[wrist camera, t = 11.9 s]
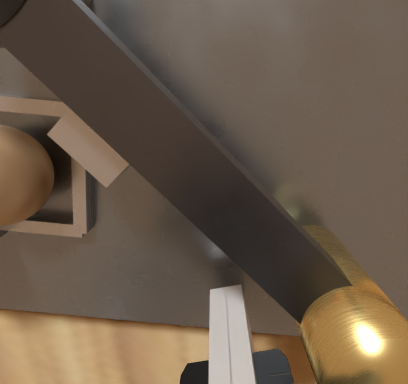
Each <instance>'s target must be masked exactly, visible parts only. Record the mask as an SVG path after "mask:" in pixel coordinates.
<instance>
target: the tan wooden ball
mask: <svg viewBox="0 0 408 384" xmlns="http://www.w3.org/2000/svg"><path fill="white" fill-rule="evenodd" d="M53 185H54V168H53V164H52V161H51V159H50V157H49V155H48V153H47V151H46V150H45V149H44V147H43V146H42V145H41V144H40V143H39V142H38V141H37V140H36V139H34V138H33V137H32V136H30V135H29V134H27V133H25V132H23V131H21V130H19V129H16V128H13V127H9V126H4V125H0V226H5V225H11V224H15V223H18V222H21V221H23V220H25V219H27V218H29V217H31V216H32V215H34V214H35V213H36V212H37V211H39V210H40V209H41V208H42V207H43V206H44V204H45V203H46V201H47V200H48V199H49V196H50V194H51V192H52V189H53Z"/></svg>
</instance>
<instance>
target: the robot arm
mask: <svg viewBox="0 0 408 384" xmlns="http://www.w3.org/2000/svg"><path fill="white" fill-rule="evenodd" d="M180 384H294V381H293V377H292V374H291V370H290V367H289V363H288V359H287V358H286V357H285V355H284V354H283V353H282V352H281V351H280V350H279V349H273V350H267V351H260V352H254V346H253V339H252V333H251V328H250V323H249V319H248V314H247V309H246V305H245V300H244V295H243V290H242V286H241V284H240V285H234V286H228V287H222V288H217V289H211V290H210V320H209V360H207V361H201V362H194V363H188V364H187V365H186V367H185V369H184V371H183V373H182V374H181V378H180Z"/></svg>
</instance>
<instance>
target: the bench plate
mask: <svg viewBox="0 0 408 384" xmlns="http://www.w3.org/2000/svg"><path fill="white" fill-rule="evenodd" d="M82 1H83V2H84V3H85V4H86V6H87V7H88V8H89V9H90V10H91V11H92V12H93V13H94V14H95V15H96V16H97V17H98V18H99V19H100V20H101V21H102V22H103V23H104V24H105V25H106V26H107V27H108V28H109V29H110V30H111V31H112V32H113V33H114V34H115V35H116V36H117V37H118V38H119V39H120V40H121V41H122V42H123V43H124V44H125V46H126V47H127V48H128V49H129V50H130V51H131V52H132V53H133V54H134V55H135V56H136V57H137V58H138V59H139V60H140V61H141V62H142V63H143V64H144V65H145V66H146V67H147V68H148V69H149V70H150V71H151V72H152V73H153V74H154V75H155V76H156V77H157V78H158V79H159V80H160V81H161V82H162V83H163V84H164V86H165V87H166V88H167V89H168V90H169V91H170V92H171V93H172V94H173V95H174V96H175V97H176V98H177V99H178V100H179V101H180V102H181V103H182V104H183V105H184V106H185V107H186V108H187V109H188V110H189V111H190V112H191V113H192V114H193V115H194V116H195V117H196V118H197V119H198V120H199V121H200V122H201V123H202V124H203V126H204V127H205V128H206V129H207V130H208V131H209V132H210V133H211V134H212V135H213V136H214V137H215V138H216V139H217V140H218V141H219V142H220V143H221V144H222V145H223V146H224V147H225V148H226V149H227V150H228V151H229V152H230V153H231V154H232V155H233V156H234V157H235V158H236V159H237V160H238V161H239V162H240V163H241V164H242V166H243V167H244V168H245V169H246V170H247V171H248V172H249V173H250V174H251V175H252V176H253V177H254V178H255V179H256V180H257V181H258V182H259V183H260V184H261V185H262V186H263V187H264V188H265V189H266V190H267V191H268V192H269V193H270V194H271V195H272V196H273V197H274V198H275V199H276V200H277V201H278V202H279V203H280V204H281V206H282V207H283V208H284V209H285V210H286V211H287V212H288V213H289V214H290V215H291V216H292V217H293V218H294V219H295V220H296V221H297V222H298V223H299V224H300V225H301V226H306V225H316V226H321V227H324V228H326V229H328V230H330V231H331V232H333V233H334V234H335V235H336V237H337V238H338V239H339V240H340V241H341V242H342V244H343V245H344V246H345V247H346V248H347V250H348V251H349V252H350V253H351V254H352V255H353V257H354V258H355V259H356V260H357V261H358V263H359V264H360V265H361V266H362V267H363V269H364V270H365V271H366V272H367V273H368V274H369V276H370V277H371V278H372V279H373V280H374V282H375V283H376V284H377V285H378V286H379V288H380V289H381V290H382V291H383V292H384V293H385V295H386V296H387V297H388V298H389V299H390V301H391V302H392V303H393V304H394V305H395V306H396V308H397V309H398V310H399V311H400V312H401V314H402V315H403V316H404V317H405V318H406V320H407V321H408V0H82ZM68 109H69V107H68V106H67V105H66V104H64V103H63V102H62V101H61V100H60V99H59V98H58V97H57V96H56V95H55V94H54V93H53V92H52V91H51V90H49V89H48V88H47V87H46V86H45V85H44V84H43V83H42V82H41V81H40V80H39V79H38V78H37V77H36V76H35V75H33V74H32V73H31V72H30V71H29V70H28V69H27V68H26V67H25V66H24V65H23V64H22V63H21V62H20V61H18V60H17V59H16V58H15V57H14V56H13V55H12V54H11V53H10V52H9V51H8V50H7V49H6V48H0V125H4V126H9V127H13V128H16V129H19V130H21V131H23V132H25V133H27V134H29V135H30V136H32V137H33V138H34V139H36V140H37V141H38V142H39V143H40V144H41V145H42V146H43V147H44V149H45V150H46V151H47V153H48V155H49V157H50V159H51V161H52V164H53V168H54V185H53V189H52V192H51V194H50V196H49V199H48V200H47V201H46V203H45V204H44V206H43V207H42V208H41V209H40V210H39V211H37V212H36V213H35V214H34V215H32V216H31V217H29V218H27V219H25V220H23V221H21V222H18V223H15V224H11V225H5V226H0V309H11V310H22V311H33V312H43V313H54V314H65V315H75V316H86V317H97V318H107V319H118V320H129V321H139V322H150V323H161V324H171V325H182V326H193V327H203V328H209V320H210V290H211V289H217V288H222V287H228V286H234V285H240V284H241V286H242V290H243V295H244V300H245V305H246V309H247V314H248V319H249V323H250V328H251V332H257V333H268V334H278V335H289V336H300V334H299V331H298V328H297V325H296V322H295V320H294V318H293V317H292V316H291V315H290V314H289V313H288V312H287V311H286V310H285V309H284V308H283V307H281V306H280V305H279V304H278V303H277V302H276V301H275V300H274V299H273V298H272V297H271V296H270V295H269V294H268V293H266V292H265V291H264V290H263V289H262V288H261V287H260V286H259V285H258V284H257V283H256V282H255V281H254V280H253V279H252V278H250V277H249V276H248V275H247V274H246V273H245V272H244V271H243V270H242V269H241V268H240V267H239V266H238V265H237V264H235V263H234V262H233V261H232V260H231V259H230V258H229V257H228V256H227V255H226V254H225V253H224V252H223V251H222V250H221V249H219V248H218V247H217V246H216V245H215V244H214V243H213V242H212V241H211V240H210V239H209V238H208V237H207V236H206V235H204V234H203V233H202V232H201V231H200V230H199V229H198V228H197V227H196V226H195V225H194V224H193V223H192V222H191V221H190V220H188V219H187V218H186V217H185V216H184V215H183V214H182V213H181V212H180V211H179V210H178V209H177V208H176V207H175V206H173V205H172V204H171V203H170V202H169V201H168V200H167V199H166V198H165V197H164V196H163V195H162V194H161V193H160V192H159V191H157V190H156V189H155V188H154V187H153V186H152V185H151V184H150V183H149V182H148V181H147V180H146V179H145V178H144V177H142V176H141V175H140V174H139V173H138V172H137V171H136V170H135V169H134V168H133V167H132V166H130V167H129V168H128V169H127V170H126V171H125V172H124V173H122V174H121V175H120V176H119V177H118V178H117V179H116V180H115V181H114V182H112V183H111V184H110V185H109V186H108V187H107V188H106V187H105V186H104V185H102V184H101V183H100V182H99V181H98V180H97V179H96V178H95V177H94V176H92V175H91V174H90V173H89V172H88V171H87V170H86V169H85V168H84V167H82V166H81V165H80V164H79V163H78V162H77V161H76V160H75V159H74V158H72V157H71V156H70V155H69V154H68V153H67V152H66V151H65V150H64V149H62V148H61V147H60V146H59V145H58V144H57V143H56V142H55V141H54V140H52V139H51V138H50V137H49V136H48V135H47V134H48V133H49V131H50V130H51V129H52V128H53V127H54V126H55V124H56V123H57V122H58V121H59V120H60V118H61V117H62V116H63V115H64V114H65V113H66V111H67V110H68ZM300 337H301V336H300Z"/></svg>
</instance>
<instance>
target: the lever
mask: <svg viewBox="0 0 408 384" xmlns="http://www.w3.org/2000/svg"><path fill="white" fill-rule="evenodd" d="M0 48H6V49H7V50H8V51H9V52H10V53H11V54H12V55H13V56H14V57H15V58H16V59H17V60H18V61H20V62H21V63H22V64H23V65H24V66H25V67H26V68H27V69H28V70H29V71H30V72H31V73H32V74H33V75H35V76H36V77H37V78H38V79H39V80H40V81H41V82H42V83H43V84H44V85H45V86H46V87H47V88H48V89H49V90H51V91H52V92H53V93H54V94H55V95H56V96H57V97H58V98H59V99H60V100H61V101H62V102H63V103H64V104H66V105H67V106H68V107H69V109H68V110H67V111H66V113H65V114H64V115H63V116H62V117H61V118H60V120H59V121H58V122H57V123H56V124H55V126H54V127H53V128H52V129H51V130H50V131H49V133H48V134H47V135H48V136H49V137H50V138H51V139H52V140H54V141H55V142H56V143H57V144H58V145H59V146H60V147H61V148H62V149H64V150H65V151H66V152H67V153H68V154H69V155H70V156H71V157H72V158H74V159H75V160H76V161H77V162H78V163H79V164H80V165H81V166H82V167H84V168H85V169H86V170H87V171H88V172H89V173H90V174H91V175H92V176H94V177H95V178H96V179H97V180H98V181H99V182H100V183H101V184H102V185H104V186H105V187H106V188H107V187H108V186H109V185H110V184H111V183H112V182H114V181H115V180H116V179H117V178H118V177H119V176H120V175H121V174H122V173H124V172H125V171H126V170H127V169H128V168H129V167H130V166H132V167H133V168H134V169H135V170H136V171H137V172H138V173H139V174H140V175H141V176H142V177H144V178H145V179H146V180H147V181H148V182H149V183H150V184H151V185H152V186H153V187H154V188H155V189H156V190H157V191H159V192H160V193H161V194H162V195H163V196H164V197H165V198H166V199H167V200H168V201H169V202H170V203H171V204H172V205H173V206H175V207H176V208H177V209H178V210H179V211H180V212H181V213H182V214H183V215H184V216H185V217H186V218H187V219H188V220H190V221H191V222H192V223H193V224H194V225H195V226H196V227H197V228H198V229H199V230H200V231H201V232H202V233H203V234H204V235H206V236H207V237H208V238H209V239H210V240H211V241H212V242H213V243H214V244H215V245H216V246H217V247H218V248H219V249H221V250H222V251H223V252H224V253H225V254H226V255H227V256H228V257H229V258H230V259H231V260H232V261H233V262H234V263H235V264H237V265H238V266H239V267H240V268H241V269H242V270H243V271H244V272H245V273H246V274H247V275H248V276H249V277H250V278H252V279H253V280H254V281H255V282H256V283H257V284H258V285H259V286H260V287H261V288H262V289H263V290H264V291H265V292H266V293H268V294H269V295H270V296H271V297H272V298H273V299H274V300H275V301H276V302H277V303H278V304H279V305H280V306H281V307H283V308H284V309H285V310H286V311H287V312H288V313H289V314H290V315H291V316H292V317H293V318H294V320H295V322H296V325H297V328H298V331H299V334H300V336H301V339H302V342H303V345H304V348H305V351H306V353H307V356H308V359H309V362H310V365H311V368H312V370H313V373H314V376H315V379H316V382H317V384H408V321H407V320H406V318H405V317H404V316H403V315H402V314H401V312H400V311H399V310H398V309H397V308H396V306H395V305H394V304H393V303H392V302H391V301H390V299H389V298H388V297H387V296H386V295H385V293H384V292H383V291H382V290H381V289H380V288H379V286H378V285H377V284H376V283H375V282H374V280H373V279H372V278H371V277H370V276H369V274H368V273H367V272H366V271H365V270H364V269H363V267H362V266H361V265H360V264H359V263H358V261H357V260H356V259H355V258H354V257H353V255H352V254H351V253H350V252H349V251H348V250H347V248H346V247H345V246H344V245H343V244H342V242H341V241H340V240H339V239H338V238H337V237H336V235H335V234H334V233H333V232H331V231H330V230H328V229H326V228H324V227H321V226H316V225H306V226H301V225H300V224H299V223H298V222H297V221H296V220H295V219H294V218H293V217H292V216H291V215H290V214H289V213H288V212H287V211H286V210H285V209H284V208H283V207H282V206H281V204H280V203H279V202H278V201H277V200H276V199H275V198H274V197H273V196H272V195H271V194H270V193H269V192H268V191H267V190H266V189H265V188H264V187H263V186H262V185H261V184H260V183H259V182H258V181H257V180H256V179H255V178H254V177H253V176H252V175H251V174H250V173H249V172H248V171H247V170H246V169H245V168H244V167H243V166H242V164H241V163H240V162H239V161H238V160H237V159H236V158H235V157H234V156H233V155H232V154H231V153H230V152H229V151H228V150H227V149H226V148H225V147H224V146H223V145H222V144H221V143H220V142H219V141H218V140H217V139H216V138H215V137H214V136H213V135H212V134H211V133H210V132H209V131H208V130H207V129H206V128H205V127H204V126H203V124H202V123H201V122H200V121H199V120H198V119H197V118H196V117H195V116H194V115H193V114H192V113H191V112H190V111H189V110H188V109H187V108H186V107H185V106H184V105H183V104H182V103H181V102H180V101H179V100H178V99H177V98H176V97H175V96H174V95H173V94H172V93H171V92H170V91H169V90H168V89H167V88H166V87H165V86H164V84H163V83H162V82H161V81H160V80H159V79H158V78H157V77H156V76H155V75H154V74H153V73H152V72H151V71H150V70H149V69H148V68H147V67H146V66H145V65H144V64H143V63H142V62H141V61H140V60H139V59H138V58H137V57H136V56H135V55H134V54H133V53H132V52H131V51H130V50H129V49H128V48H127V47H126V46H125V44H124V43H123V42H122V41H121V40H120V39H119V38H118V37H117V36H116V35H115V34H114V33H113V32H112V31H111V30H110V29H109V28H108V27H107V26H106V25H105V24H104V23H103V22H102V21H101V20H100V19H99V18H98V17H97V16H96V15H95V14H94V13H93V12H92V11H91V10H90V9H89V8H88V7H87V6H86V4H85V3H84V2H83V1H82V0H0Z"/></svg>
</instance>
